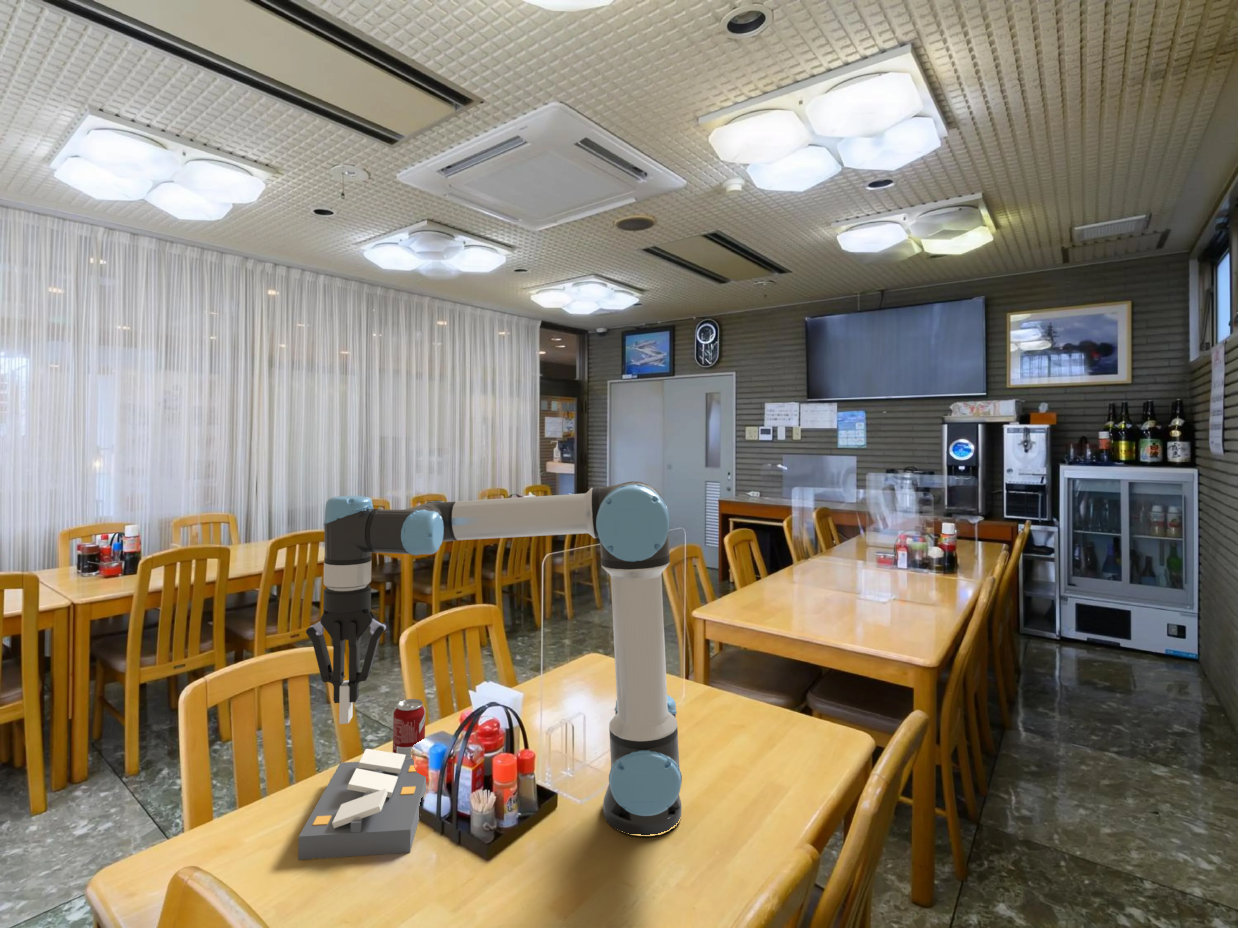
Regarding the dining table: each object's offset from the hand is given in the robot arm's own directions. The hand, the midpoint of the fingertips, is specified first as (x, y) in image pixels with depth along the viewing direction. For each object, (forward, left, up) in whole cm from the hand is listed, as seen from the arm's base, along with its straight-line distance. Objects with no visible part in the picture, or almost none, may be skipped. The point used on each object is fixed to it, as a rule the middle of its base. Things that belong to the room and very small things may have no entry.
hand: (345, 719), depth 108 cm
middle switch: (-3, -8, -16) cm, 18 cm away
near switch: (-3, 0, -16) cm, 17 cm away
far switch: (-3, -16, -16) cm, 23 cm away
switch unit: (-3, -8, -22) cm, 23 cm away
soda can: (-6, -29, -22) cm, 37 cm away
